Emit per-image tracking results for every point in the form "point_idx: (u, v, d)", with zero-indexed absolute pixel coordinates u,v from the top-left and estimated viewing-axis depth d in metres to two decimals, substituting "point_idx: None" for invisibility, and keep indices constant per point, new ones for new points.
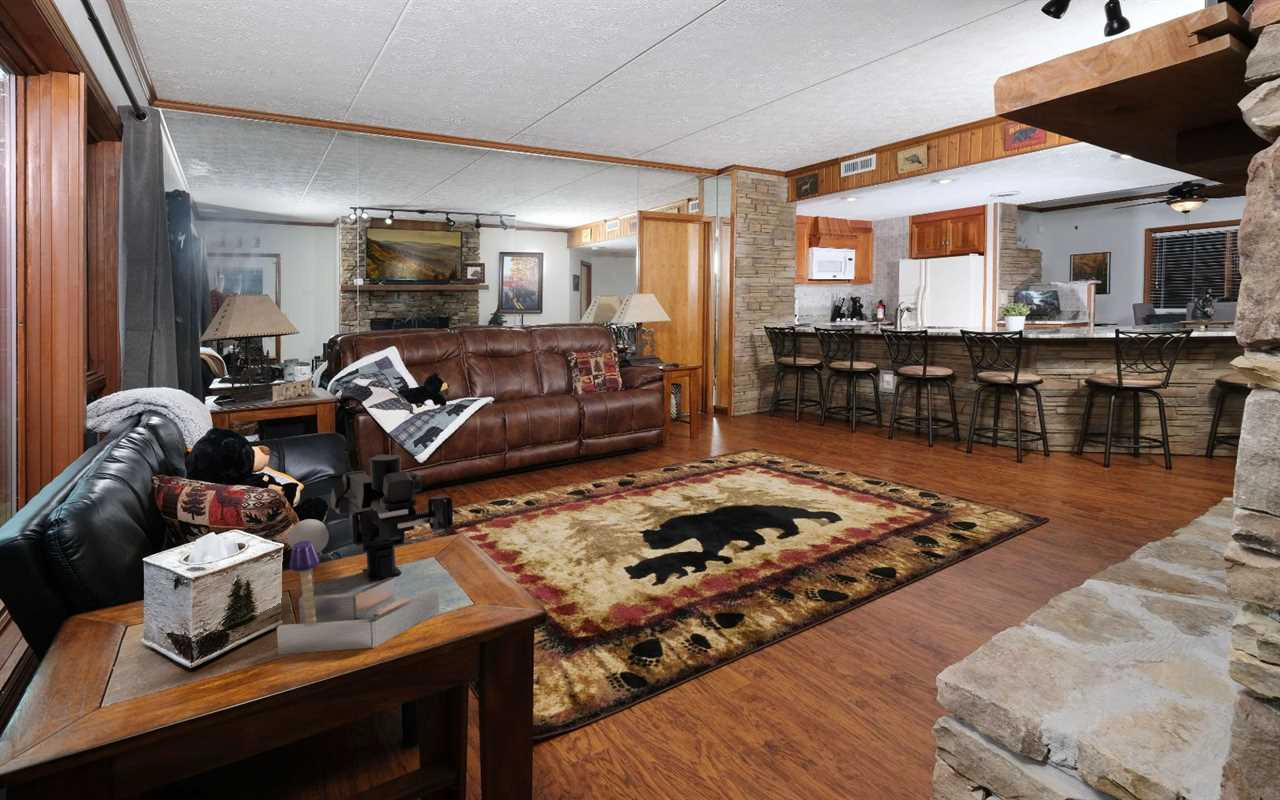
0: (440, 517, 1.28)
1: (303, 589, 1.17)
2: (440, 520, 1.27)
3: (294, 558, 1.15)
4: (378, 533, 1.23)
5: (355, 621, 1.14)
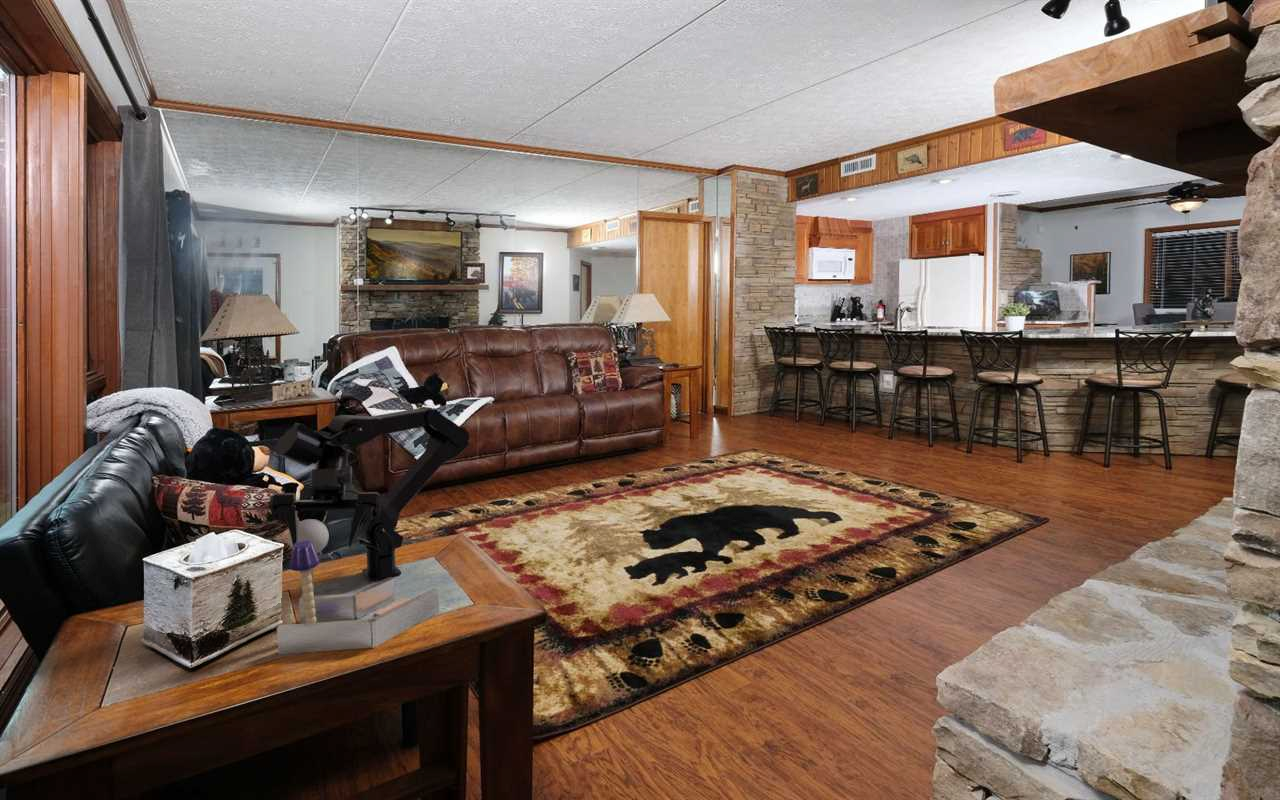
0: (353, 532, 1.26)
1: (303, 589, 1.17)
2: (351, 538, 1.26)
3: (294, 558, 1.15)
4: None
5: (355, 621, 1.14)
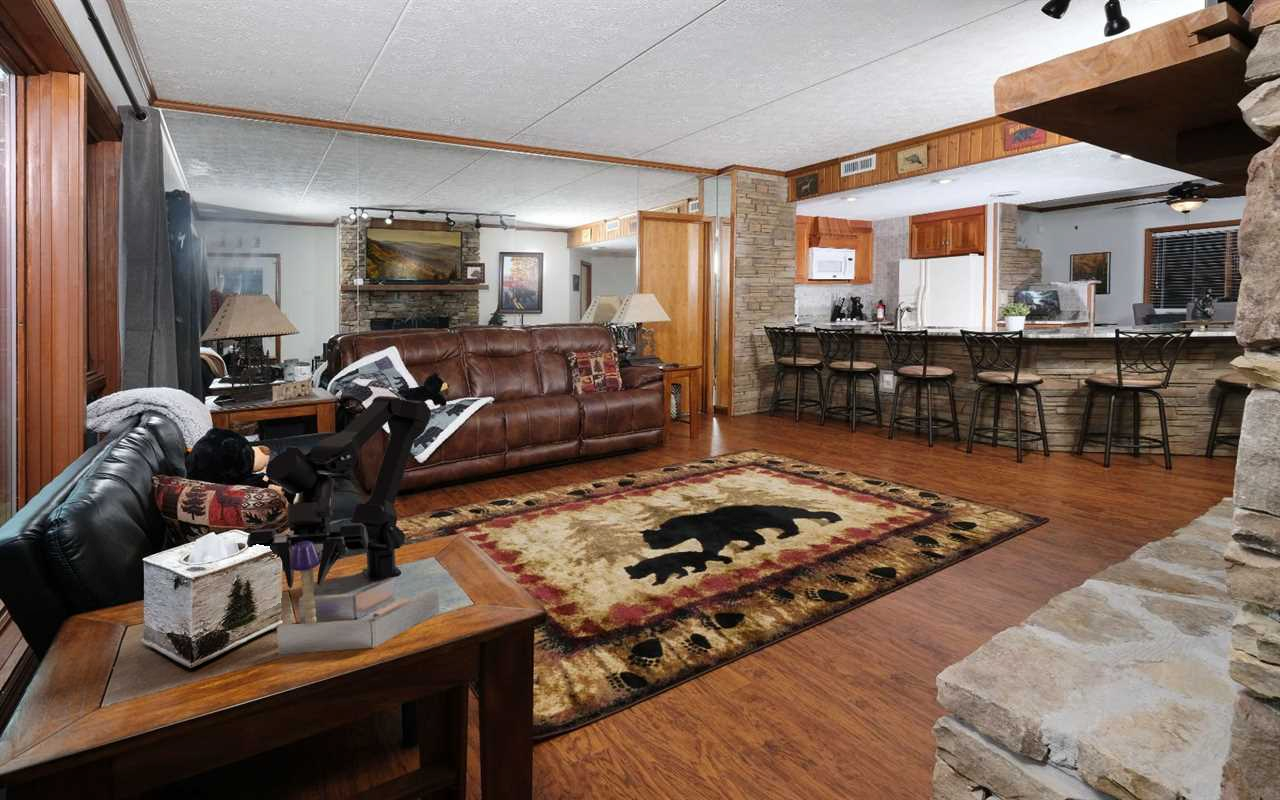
0: (322, 569, 1.17)
1: (303, 589, 1.17)
2: (319, 576, 1.17)
3: (295, 558, 1.15)
4: None
5: (355, 621, 1.14)
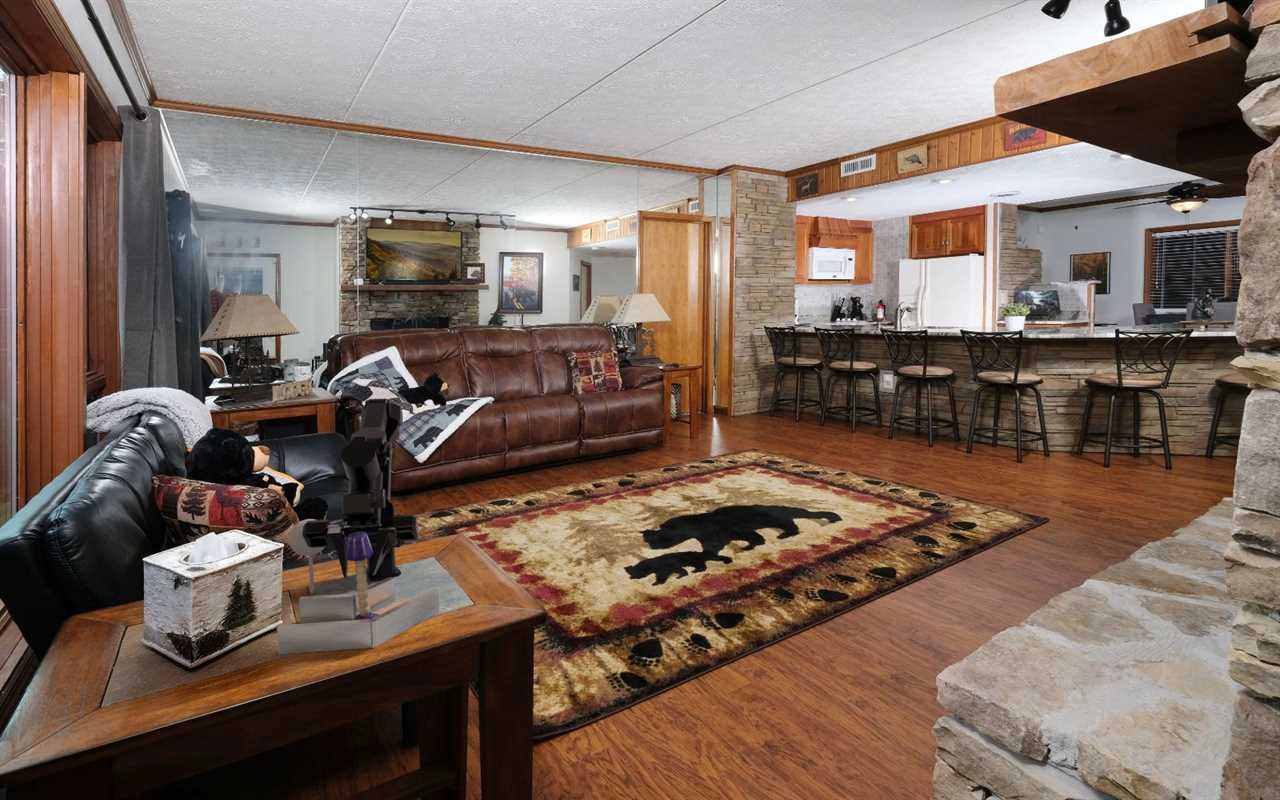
0: (376, 559, 1.19)
1: (358, 579, 1.18)
2: (373, 566, 1.18)
3: (350, 548, 1.16)
4: None
5: (355, 621, 1.14)
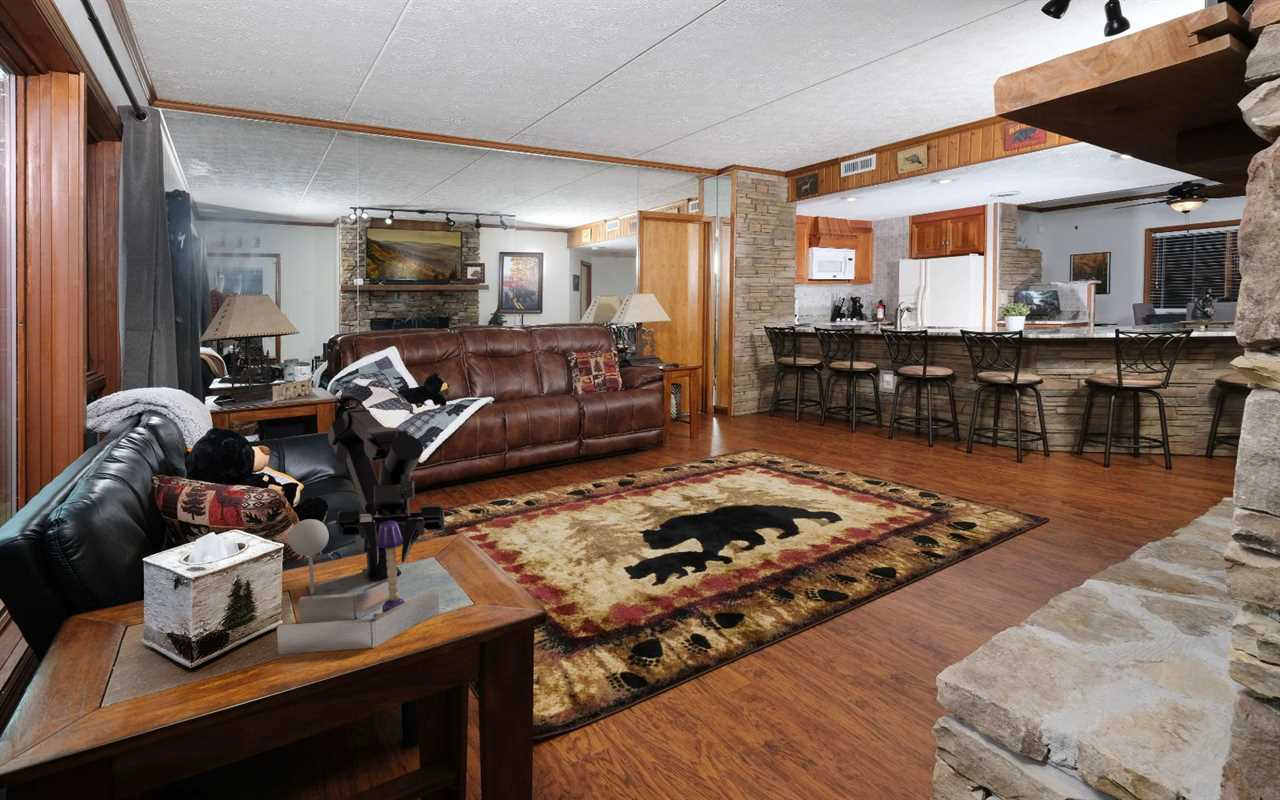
0: (405, 547, 1.25)
1: (388, 566, 1.24)
2: (403, 553, 1.24)
3: (382, 536, 1.22)
4: None
5: (355, 621, 1.14)
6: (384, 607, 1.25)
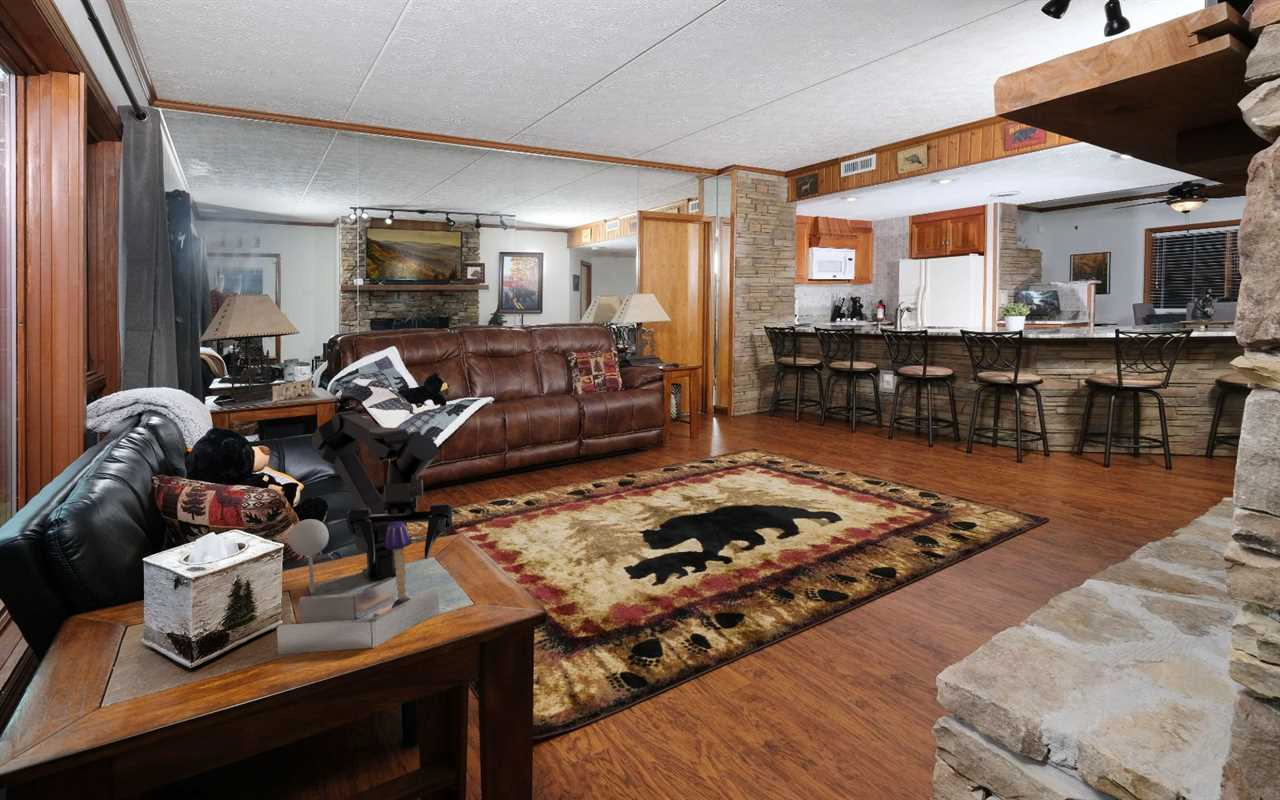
0: (428, 544, 1.27)
1: (397, 566, 1.26)
2: (426, 550, 1.26)
3: (390, 537, 1.24)
4: None
5: (355, 621, 1.14)
6: (393, 607, 1.27)
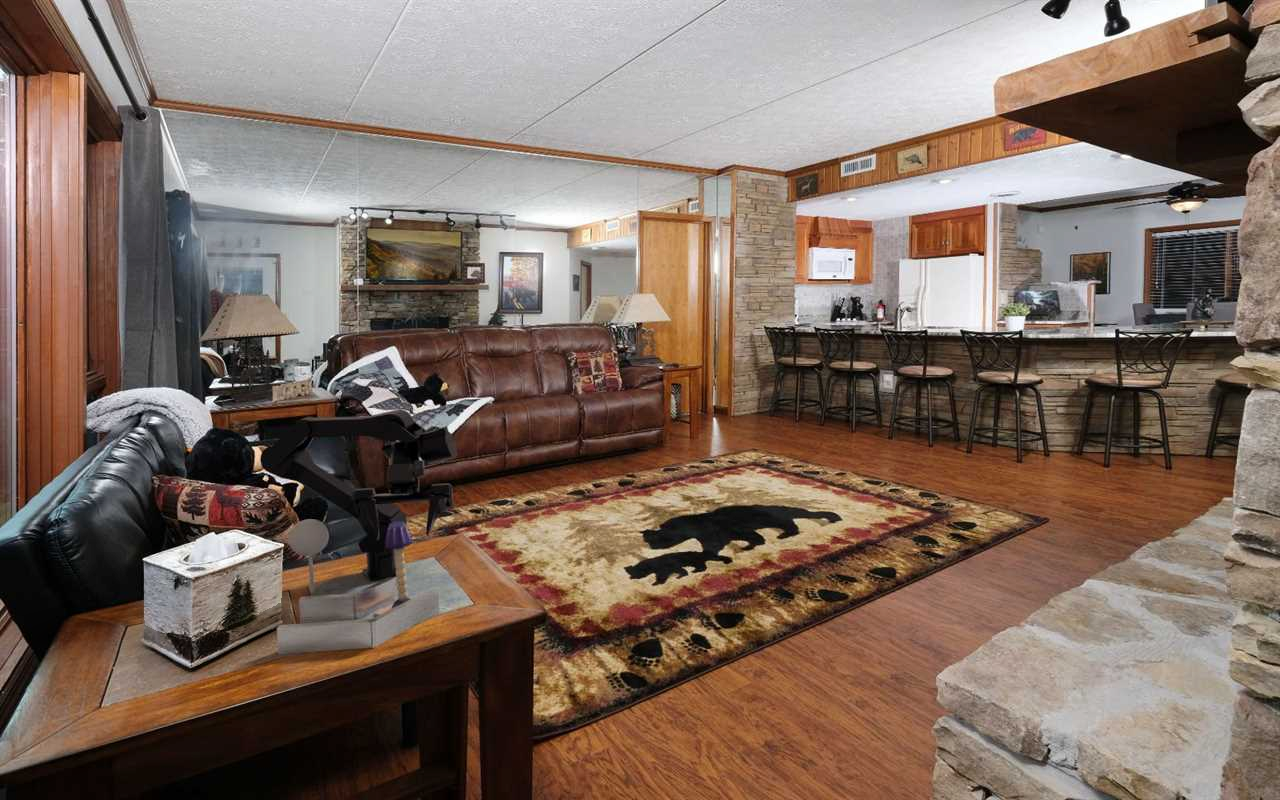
0: (430, 522, 1.33)
1: (397, 566, 1.26)
2: (427, 527, 1.33)
3: (390, 537, 1.24)
4: None
5: (355, 621, 1.14)
6: (393, 607, 1.27)
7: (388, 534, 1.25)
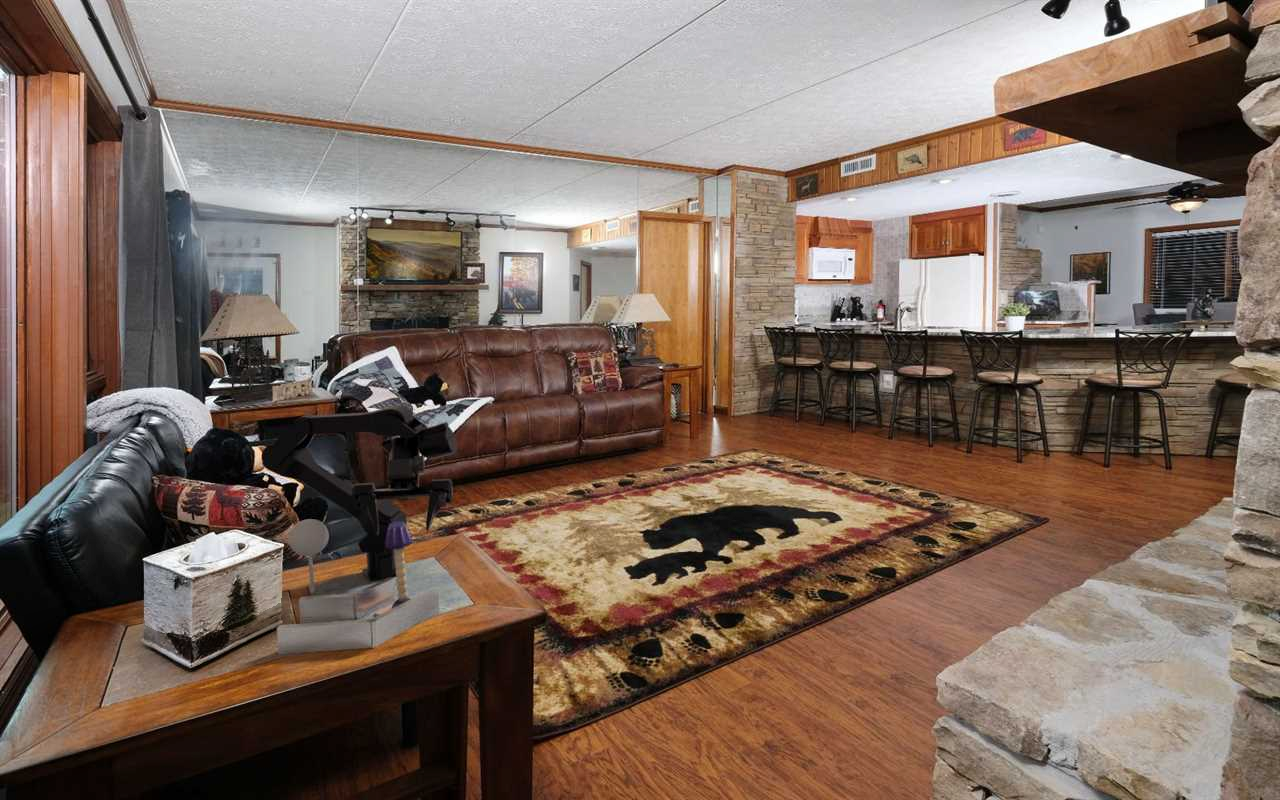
0: (429, 517, 1.33)
1: (397, 566, 1.26)
2: (427, 523, 1.33)
3: (390, 537, 1.24)
4: None
5: (355, 621, 1.14)
6: (393, 607, 1.27)
7: (388, 534, 1.25)
